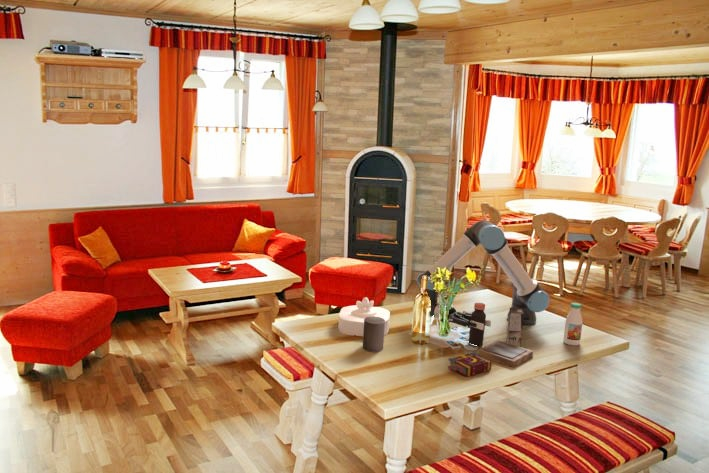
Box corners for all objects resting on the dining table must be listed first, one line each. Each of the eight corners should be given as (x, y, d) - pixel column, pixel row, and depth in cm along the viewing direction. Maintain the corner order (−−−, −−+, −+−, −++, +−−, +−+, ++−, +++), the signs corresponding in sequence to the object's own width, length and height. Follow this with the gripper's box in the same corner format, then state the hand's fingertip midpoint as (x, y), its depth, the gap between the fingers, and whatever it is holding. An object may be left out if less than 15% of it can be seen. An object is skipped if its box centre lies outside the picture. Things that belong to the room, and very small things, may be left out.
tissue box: (342, 317, 327) (343, 288, 323) (390, 321, 324) (391, 291, 321) (335, 334, 302) (337, 302, 299) (387, 338, 300) (388, 306, 296)
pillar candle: (359, 349, 284) (361, 318, 281) (366, 342, 293) (368, 312, 290) (379, 353, 281) (381, 322, 277) (386, 346, 290) (388, 315, 286)
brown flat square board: (497, 345, 296) (498, 339, 295) (532, 356, 284) (533, 350, 284) (477, 355, 283) (478, 348, 282) (513, 367, 271) (514, 360, 271)
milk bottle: (560, 342, 303) (565, 303, 299) (567, 338, 309) (571, 300, 305) (575, 347, 298) (580, 307, 294) (582, 343, 304) (587, 304, 300)
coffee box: (520, 346, 296) (524, 314, 293) (507, 344, 298) (510, 312, 294) (519, 339, 305) (523, 308, 302) (506, 338, 306) (509, 306, 303)
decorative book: (491, 370, 267) (492, 359, 266) (464, 378, 258) (465, 367, 257) (472, 361, 277) (473, 351, 276) (445, 368, 268) (446, 357, 266)
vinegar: (481, 347, 292) (486, 307, 288) (467, 345, 294) (471, 304, 290) (483, 343, 298) (487, 303, 295) (469, 340, 300) (473, 301, 297)
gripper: (455, 316, 313) (496, 328, 298) (434, 324, 300) (475, 337, 284) (456, 302, 312) (497, 313, 297) (435, 309, 298) (476, 322, 283)
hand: (486, 325), depth 291 cm, fingers closed on vinegar, 6 cm apart
